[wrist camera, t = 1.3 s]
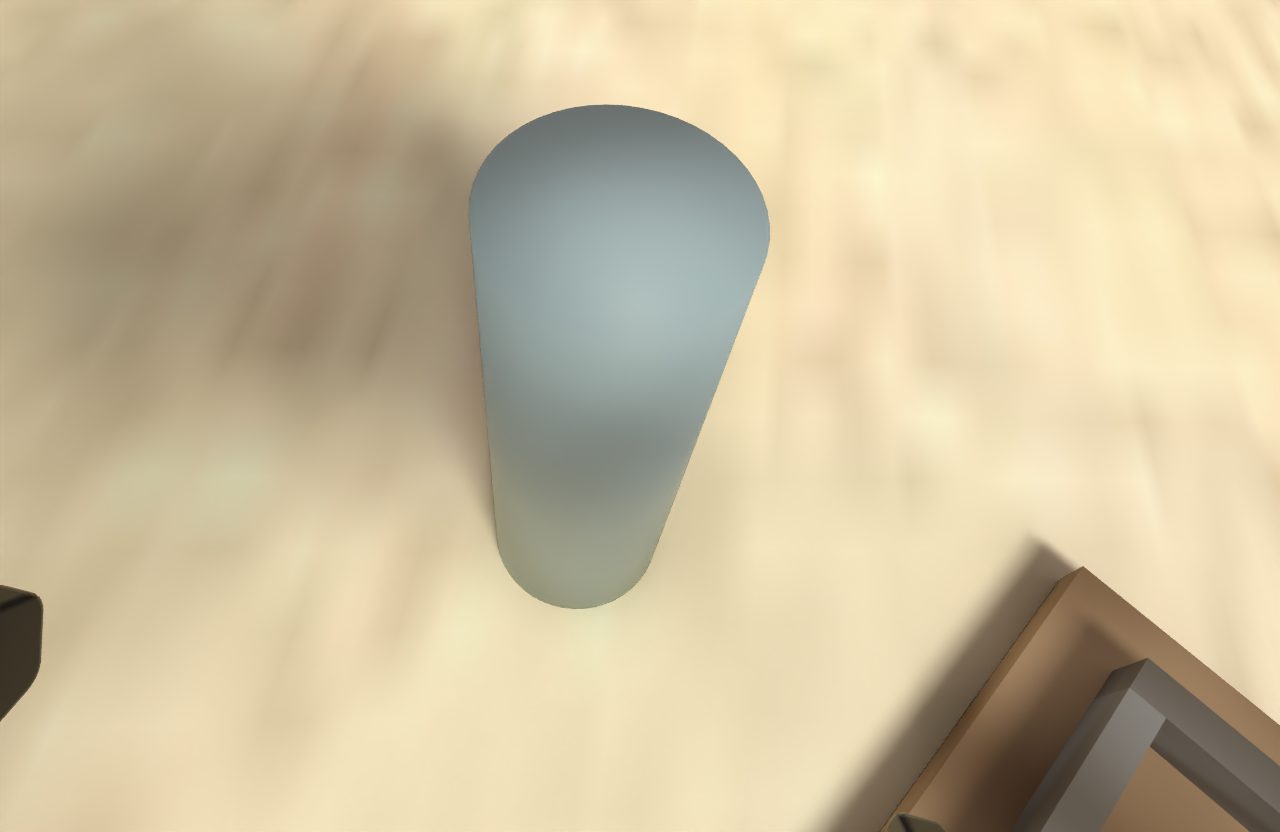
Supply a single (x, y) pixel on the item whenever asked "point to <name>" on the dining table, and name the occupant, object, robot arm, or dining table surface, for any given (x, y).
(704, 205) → the pale blue cylinder
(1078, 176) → the dining table surface
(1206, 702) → the cradle board
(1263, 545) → the dining table surface
